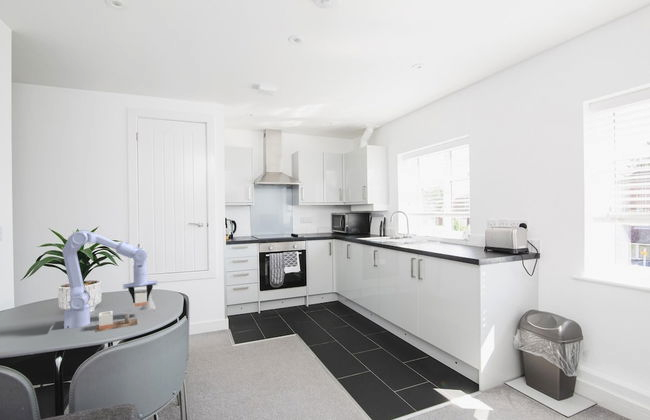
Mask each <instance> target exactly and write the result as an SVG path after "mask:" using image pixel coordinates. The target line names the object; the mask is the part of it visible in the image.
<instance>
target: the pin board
mask: <svg viewBox="0 0 650 420" xmlns="http://www.w3.org/2000/svg"><path fill="white" fill-rule="evenodd" d="M133 326H138V319H137V317H136V318H130V313H125V314H124V320H116V321H113V327H111V328H105V329H100V330H99V323H98V324H96V325H95V327H94V333H99V332H103V331H109V330H114V329H115V330H116V329H120V328H127V327H128V328H129V327H133Z"/></svg>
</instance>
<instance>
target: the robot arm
mask: <svg viewBox="0 0 650 420" xmlns="http://www.w3.org/2000/svg"><path fill="white" fill-rule="evenodd" d="M87 243H88V244H96V243H97V244H99V245H101V246H104V247H108V248H110V249H113V250H115V252H116V253H117V254H118V255H121V256H124V257H127V258H129V259H133V267H132V268H133V282H130V283H124V284H122V290H127V291H128V293H130V296H131V298H132V303H133V304H135V288H140V287H141V288H143V287H146V291H147V301H148V299H149V295H150V292H151V291H152V290H153V288H154V286H158V281H157V280H148V264H147V257H148V256H147V255H148V252H147V251H146V250H145V249H143V248H140V247H139V246H134V245H132V244H130V242H128V241H125V242H124V241H122V242H117V241H115V240H112V239H110V238H108V237H106V236H103V235H101V234H99V233H95V232H92V231H89V230H87V229H81V230H78V231H75V232H73V233H72V234H71V235H70V236H69V237H68V238H67V241H66V243H65V244H64V247H63V248H62V250H61V251H62V257H63V262H64V266H65V270H66V275H67V279H68V284H69V289H70V290H69V291H70V293H69V296H70V299H69V302H68V303H69V304H68V306H69V307H70V308H69V309H65V310H64V313H63V329H64V330H66V329H73V328H79V327H85V326H87V325H90V324H91V305H90V304H89V303H88V302H89V301H90V299H91V295H90V293H89V292H88V291H87V288H86V286H85V285H84V279H83V275H82V272H81V266H80V261H79V258H78V256H79V255H78V251H79V250H80V249H81V248H82V246H84V245H86V244H87ZM151 293H152V292H151Z"/></svg>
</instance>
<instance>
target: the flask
mask: <svg viewBox="0 0 650 420" xmlns="http://www.w3.org/2000/svg"><path fill="white" fill-rule="evenodd" d="M146 292H147V290H146ZM152 309H153V311H156V310H157V307H156V304H155V302H154V301H153V298H152V290H151V292H150V295H149V299H148V301H147V305H143V306H141V308H140V310H152Z"/></svg>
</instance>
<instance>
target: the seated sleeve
mask: <svg viewBox="0 0 650 420" xmlns="http://www.w3.org/2000/svg"><path fill="white" fill-rule="evenodd" d="M113 314H114V313H113V310H109V311H102V312H99V313H98V324H99V330H100V329H105V328H111V327H113V322H114V317H113V316H114V315H113Z"/></svg>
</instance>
